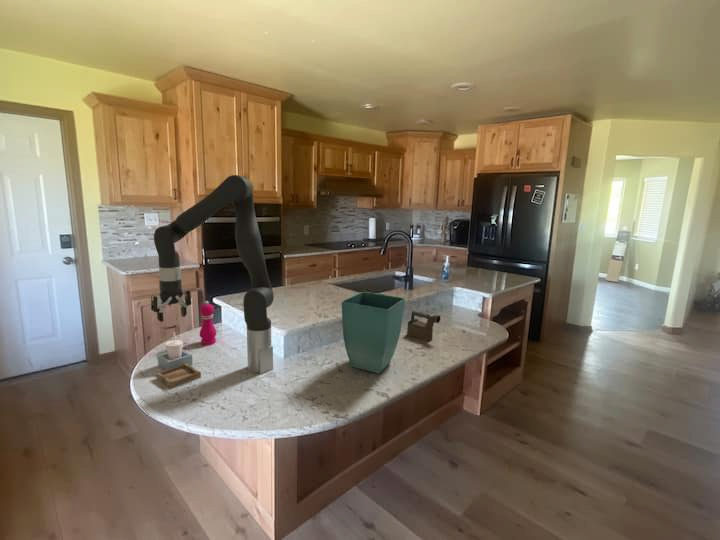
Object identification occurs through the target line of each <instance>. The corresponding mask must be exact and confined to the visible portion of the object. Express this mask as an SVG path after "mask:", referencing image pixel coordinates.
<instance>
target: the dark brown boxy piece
mask: <svg viewBox="0 0 720 540" xmlns="http://www.w3.org/2000/svg"><path fill="white" fill-rule="evenodd" d="M415 316H416V317H419V318H425V319H426V320H427V321H426V322H425V321H422V320H419V319H418V318H415ZM440 322H441V315H440V314H439V315H430V314H429V313H423V312H419V311H415V310H412V311H411V319H410V320H409V321H407V328H406V329H407V330H406V331H407V332H406V335H407V336H409V337H412V338H416V339H418V340H419V339H420V340H423V341H424V340H425V341H432V340H433V332H434V329H433V327H434V324H435V323H436V324H438V323H440Z"/></svg>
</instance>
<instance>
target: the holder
mask: <svg viewBox="0 0 720 540" xmlns="http://www.w3.org/2000/svg"><path fill="white" fill-rule="evenodd" d="M157 364H158V365H157V366H158V367H160V368H161V369H162V370H163V371H165V370H168V369H171V368H174V367H177V366H180V365H183V364H188V365H189V366H191V367H193V365H194V363H193V354H192V353H191V352H188V351H187V350H184V348H182V356H181V357H180V358H177V359H174V360H171V361H170V360H169V357H168V353H167V352H164V353H160V354H157Z"/></svg>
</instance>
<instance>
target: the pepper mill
mask: <svg viewBox="0 0 720 540" xmlns="http://www.w3.org/2000/svg"><path fill="white" fill-rule="evenodd" d="M199 312H200V314H201V319H202V325H201V328H200V330H199V337H200V338H201V340H200V344H201V345H203V346H211V345H214V344H215V343H217V339H216V336H217V334H218V333H217V330H216V327H215V326H214V322H213V318H214V314H213V313H215V307H214V305H212V304H211V303H210V301H208V300H205V301H204V304H202V305H201V306H200V308H199Z"/></svg>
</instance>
